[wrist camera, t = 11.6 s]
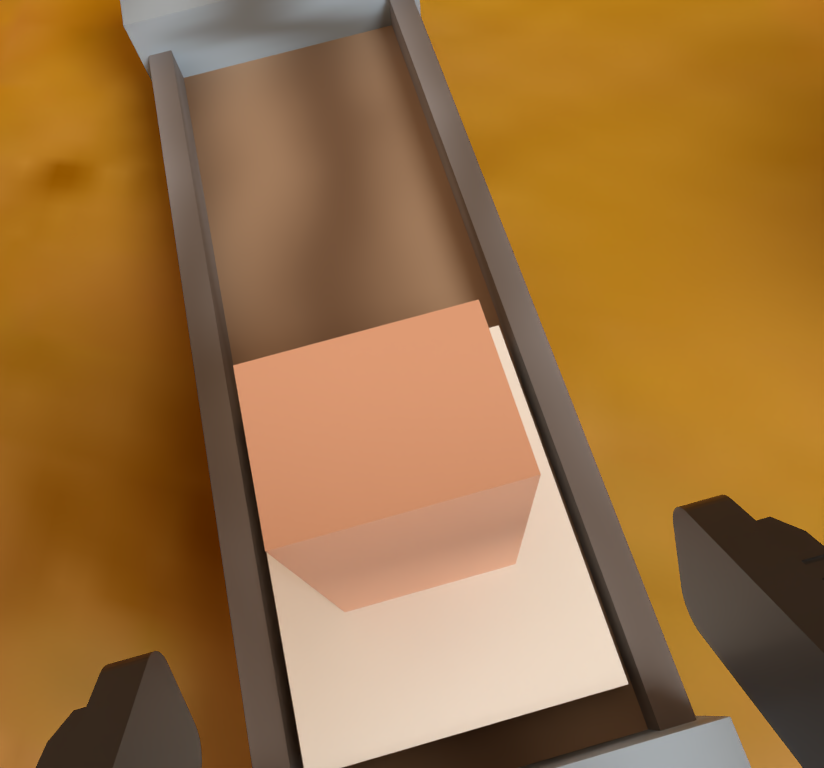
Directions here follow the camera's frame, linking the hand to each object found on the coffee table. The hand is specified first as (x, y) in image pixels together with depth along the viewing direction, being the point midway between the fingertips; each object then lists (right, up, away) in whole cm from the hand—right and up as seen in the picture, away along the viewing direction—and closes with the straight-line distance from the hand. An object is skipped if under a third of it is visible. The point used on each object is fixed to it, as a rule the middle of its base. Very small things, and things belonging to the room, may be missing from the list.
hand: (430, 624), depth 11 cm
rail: (-2, +5, +12) cm, 13 cm away
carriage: (0, 0, +7) cm, 7 cm away
